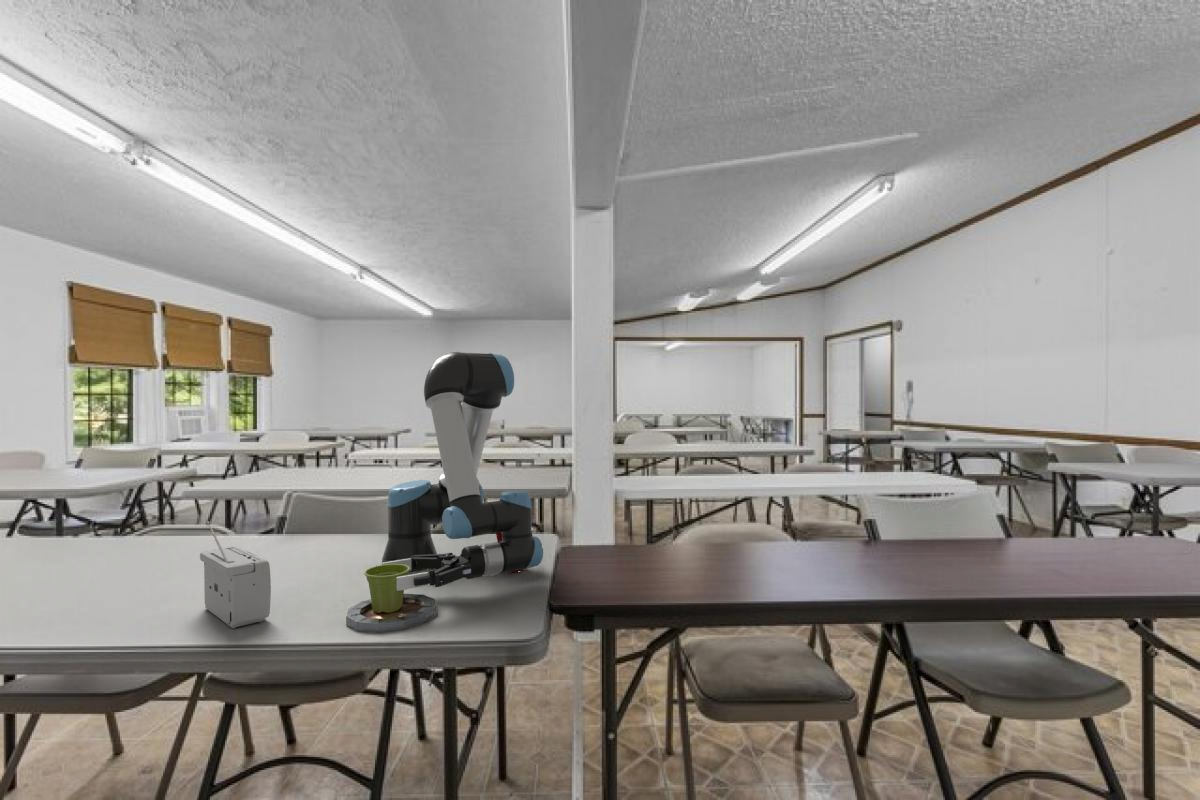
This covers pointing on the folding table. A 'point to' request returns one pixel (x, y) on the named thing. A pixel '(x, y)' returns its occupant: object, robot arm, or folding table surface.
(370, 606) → the steel ring
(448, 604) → the folding table surface
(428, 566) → the robot arm
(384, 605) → the plant pot
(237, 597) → the stereo radio cassette player
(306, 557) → the folding table surface
